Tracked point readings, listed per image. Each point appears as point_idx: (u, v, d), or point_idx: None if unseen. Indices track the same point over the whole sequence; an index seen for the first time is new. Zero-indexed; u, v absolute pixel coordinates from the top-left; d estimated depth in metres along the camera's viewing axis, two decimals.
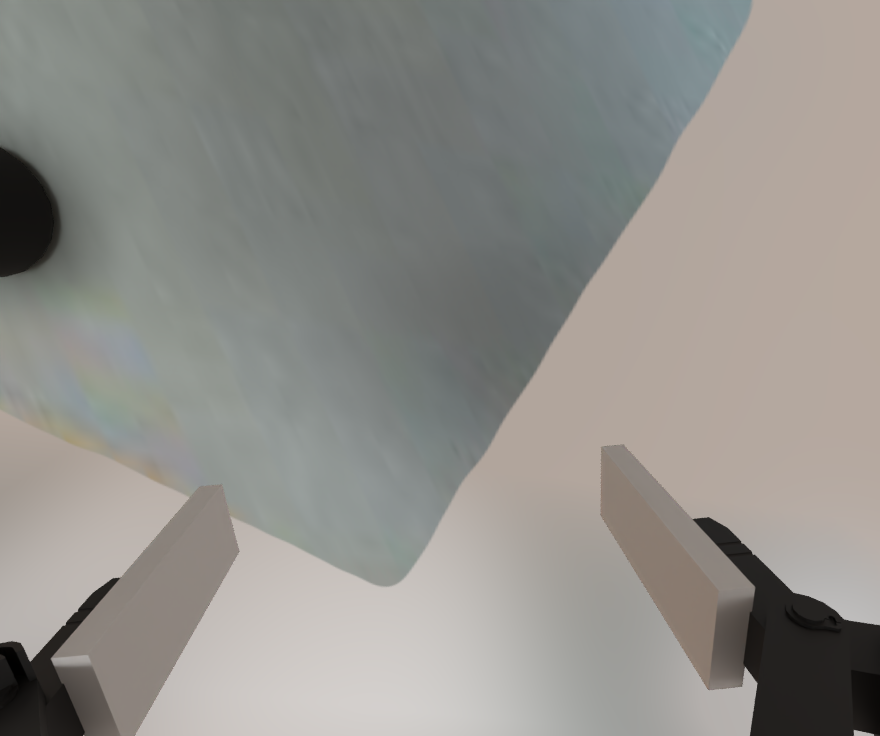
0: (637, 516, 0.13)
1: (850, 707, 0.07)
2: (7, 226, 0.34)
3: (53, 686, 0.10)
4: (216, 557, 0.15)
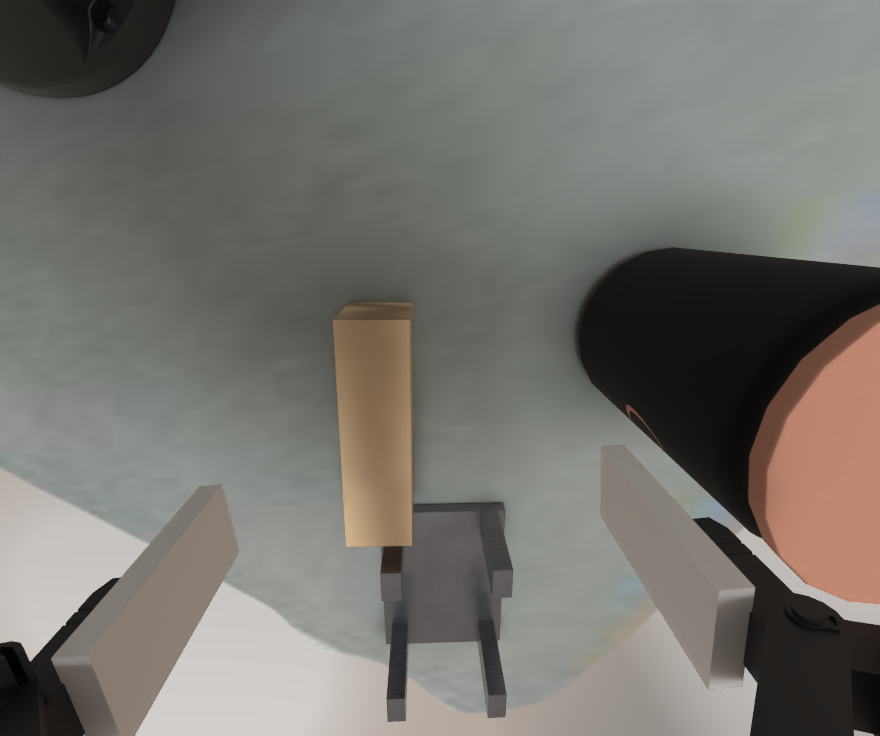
0: (636, 516, 0.13)
1: (850, 707, 0.07)
2: None
3: (53, 686, 0.10)
4: (216, 557, 0.15)
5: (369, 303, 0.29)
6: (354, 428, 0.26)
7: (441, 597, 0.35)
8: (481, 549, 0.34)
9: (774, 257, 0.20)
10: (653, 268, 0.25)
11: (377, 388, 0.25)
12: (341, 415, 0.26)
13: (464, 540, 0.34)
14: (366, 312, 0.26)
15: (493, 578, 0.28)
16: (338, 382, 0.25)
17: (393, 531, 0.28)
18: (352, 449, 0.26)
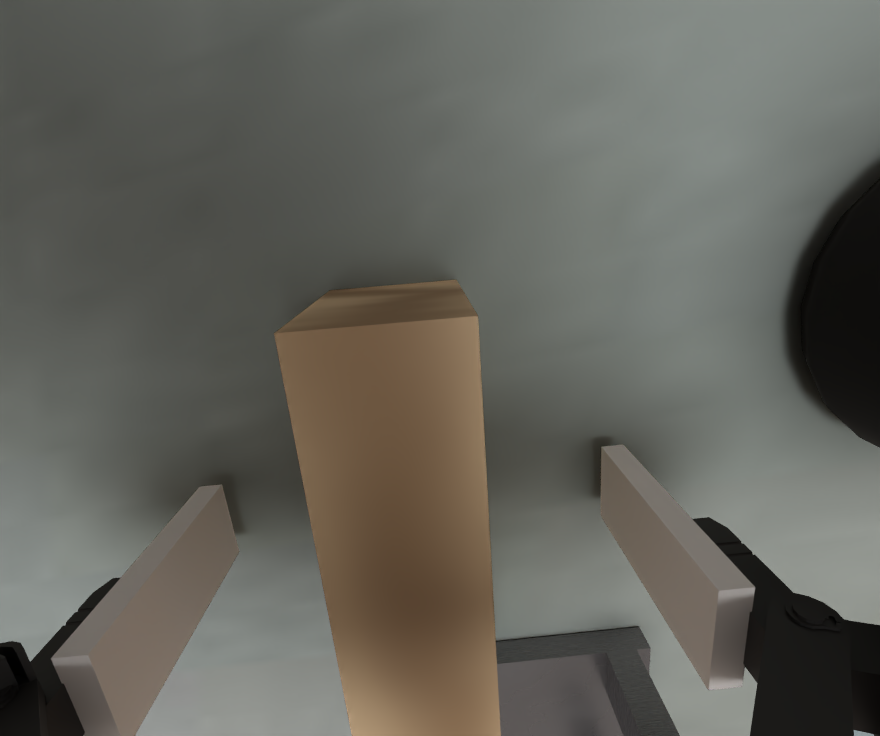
0: (637, 516, 0.13)
1: (850, 707, 0.07)
2: None
3: (53, 686, 0.10)
4: (216, 557, 0.15)
5: (370, 289, 0.14)
6: (360, 584, 0.11)
7: None
8: (607, 712, 0.19)
9: None
10: None
11: (407, 490, 0.10)
12: (325, 558, 0.11)
13: (577, 701, 0.19)
14: (363, 307, 0.11)
15: None
16: (309, 486, 0.10)
17: None
18: (358, 626, 0.11)
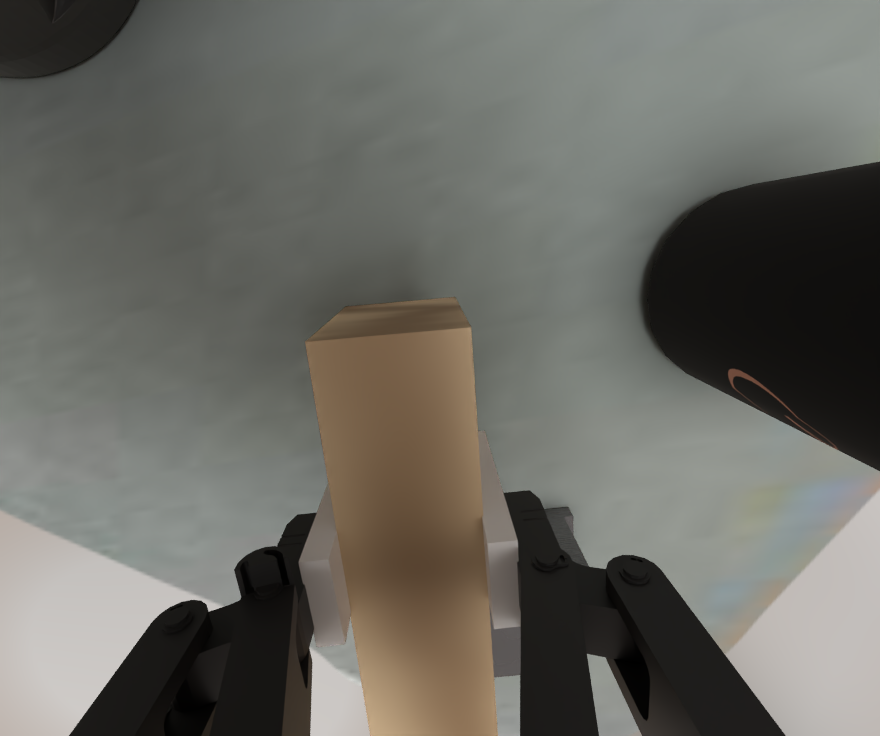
0: None
1: (580, 623, 0.09)
2: None
3: (297, 586, 0.12)
4: None
5: (380, 306, 0.16)
6: (372, 557, 0.13)
7: None
8: None
9: None
10: (742, 202, 0.20)
11: (412, 474, 0.12)
12: (343, 533, 0.13)
13: None
14: (376, 320, 0.13)
15: None
16: (330, 470, 0.12)
17: (462, 732, 0.15)
18: (370, 595, 0.13)
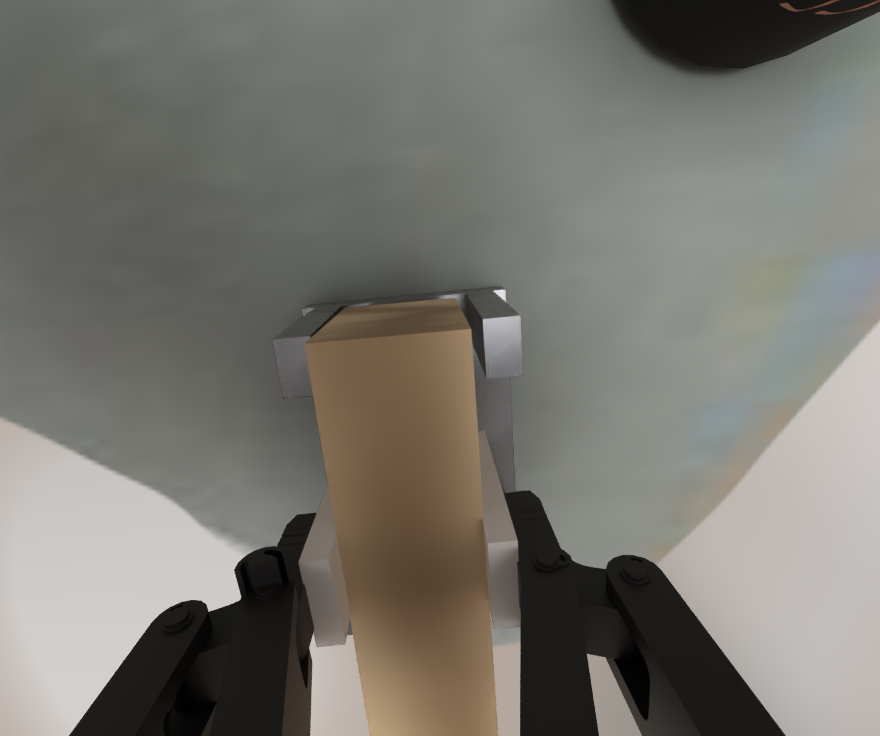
0: None
1: (580, 623, 0.09)
2: None
3: (297, 586, 0.12)
4: None
5: (380, 307, 0.16)
6: (372, 559, 0.13)
7: None
8: None
9: None
10: None
11: (413, 476, 0.12)
12: (343, 536, 0.12)
13: None
14: (376, 322, 0.13)
15: (485, 337, 0.15)
16: (330, 472, 0.12)
17: (462, 735, 0.15)
18: (370, 597, 0.13)
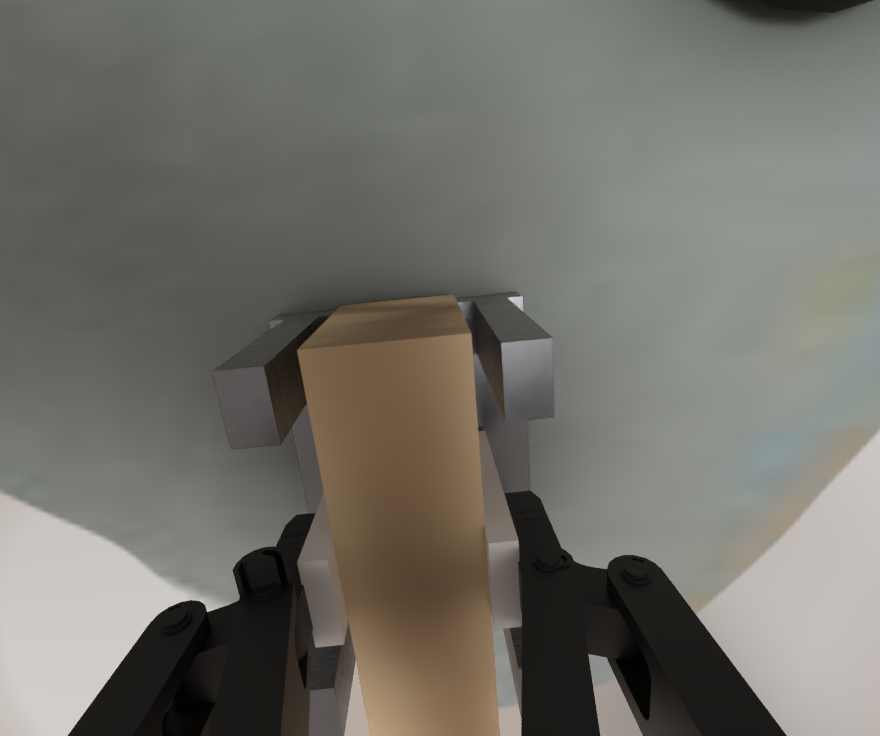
0: None
1: (582, 623, 0.09)
2: None
3: (296, 586, 0.12)
4: None
5: (376, 305, 0.16)
6: (371, 567, 0.12)
7: None
8: (482, 387, 0.17)
9: None
10: None
11: (412, 484, 0.12)
12: (340, 545, 0.12)
13: None
14: (372, 324, 0.13)
15: (504, 367, 0.11)
16: (326, 481, 0.12)
17: None
18: (369, 605, 0.13)
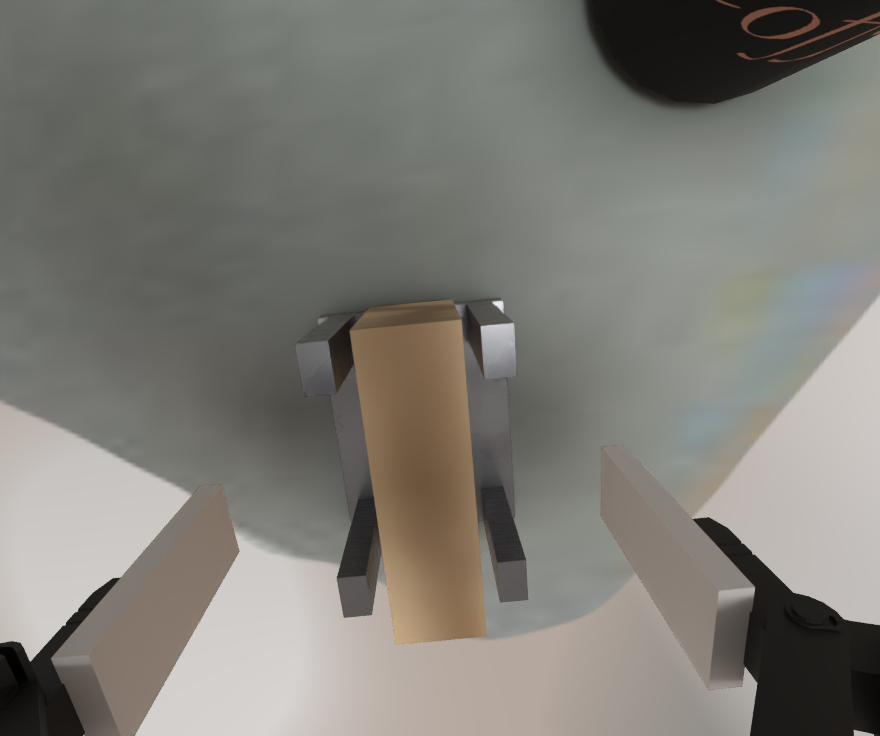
0: (637, 516, 0.13)
1: (850, 707, 0.07)
2: None
3: (53, 686, 0.10)
4: (216, 557, 0.15)
5: (396, 306, 0.22)
6: (394, 483, 0.18)
7: None
8: (474, 369, 0.23)
9: None
10: None
11: (422, 422, 0.17)
12: (373, 465, 0.18)
13: None
14: (395, 316, 0.19)
15: (482, 342, 0.17)
16: (365, 419, 0.17)
17: (459, 619, 0.20)
18: (392, 511, 0.18)
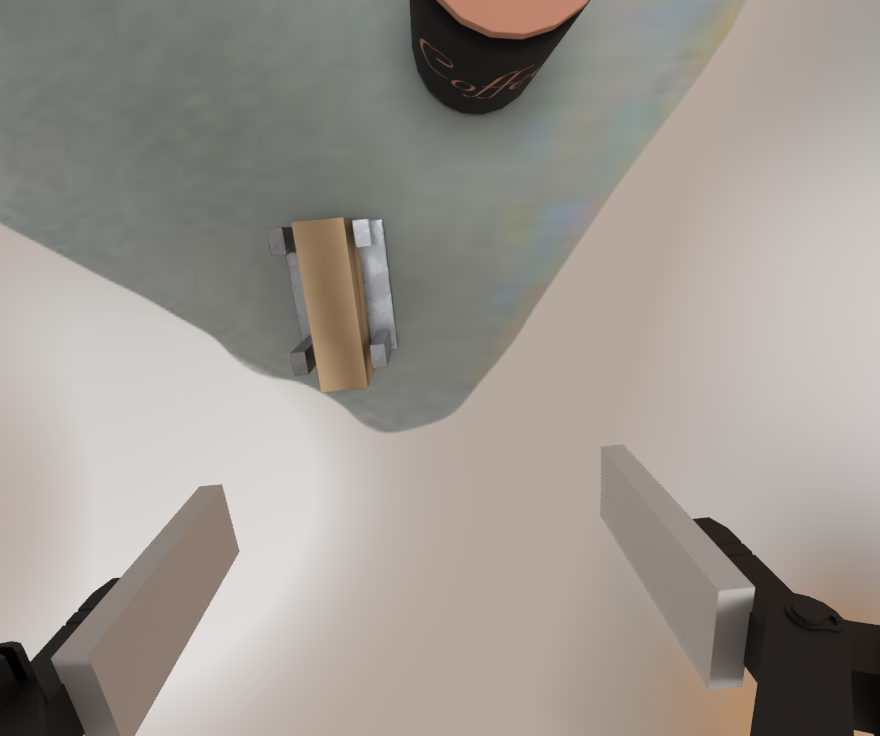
0: (637, 516, 0.13)
1: (850, 707, 0.07)
2: None
3: (53, 686, 0.10)
4: (216, 557, 0.15)
5: None
6: (316, 300, 0.37)
7: None
8: (368, 258, 0.42)
9: None
10: None
11: (328, 268, 0.37)
12: (305, 291, 0.37)
13: None
14: None
15: (354, 228, 0.36)
16: (300, 267, 0.37)
17: (353, 377, 0.39)
18: (316, 316, 0.38)
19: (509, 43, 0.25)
